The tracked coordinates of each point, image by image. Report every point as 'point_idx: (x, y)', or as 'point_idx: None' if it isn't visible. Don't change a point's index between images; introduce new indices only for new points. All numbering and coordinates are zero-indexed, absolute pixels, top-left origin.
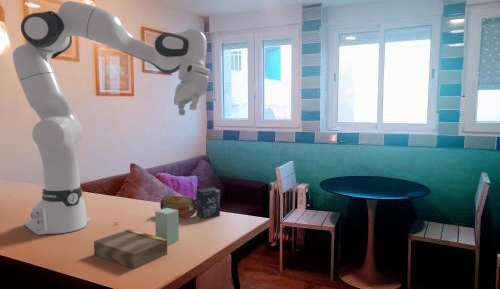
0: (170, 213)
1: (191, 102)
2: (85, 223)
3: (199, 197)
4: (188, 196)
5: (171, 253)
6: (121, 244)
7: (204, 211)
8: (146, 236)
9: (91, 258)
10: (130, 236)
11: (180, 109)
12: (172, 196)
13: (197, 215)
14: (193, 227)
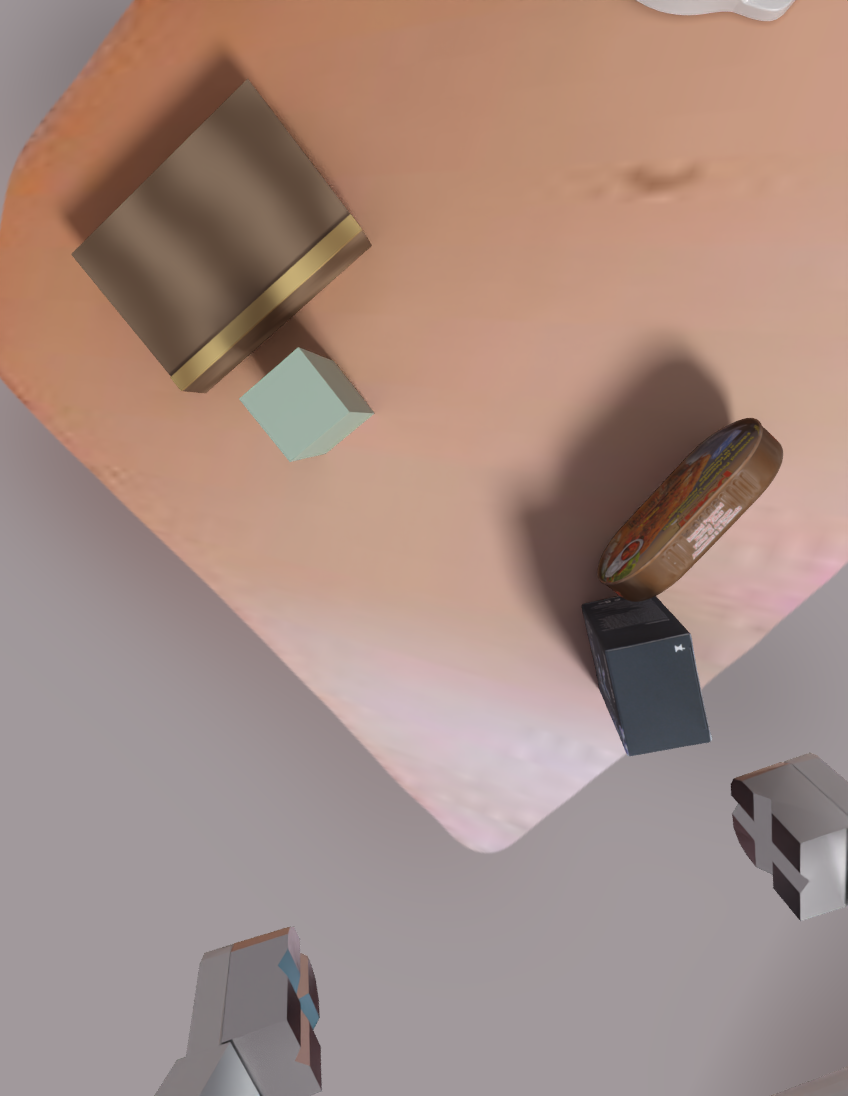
0: (256, 418)
1: (202, 1077)
2: (679, 3)
3: (633, 629)
4: (671, 575)
5: (206, 408)
6: (180, 204)
7: (588, 626)
8: (244, 311)
9: None
10: (265, 242)
11: (814, 839)
12: (723, 488)
13: None
14: (473, 541)
